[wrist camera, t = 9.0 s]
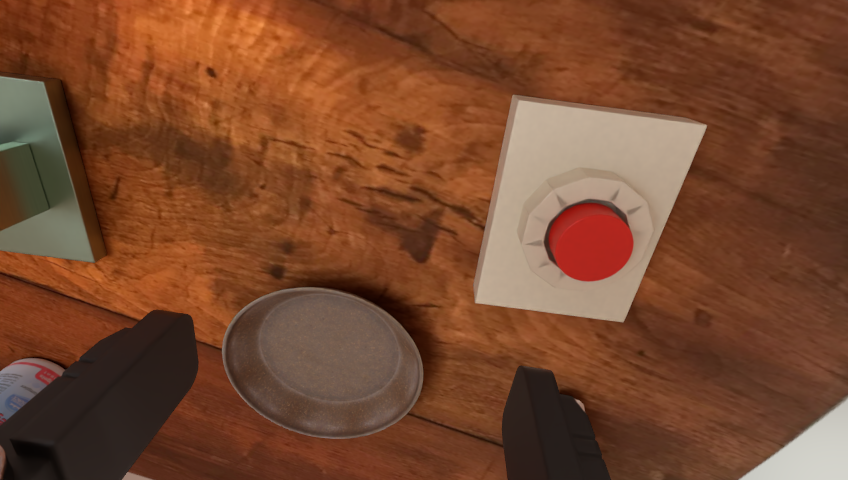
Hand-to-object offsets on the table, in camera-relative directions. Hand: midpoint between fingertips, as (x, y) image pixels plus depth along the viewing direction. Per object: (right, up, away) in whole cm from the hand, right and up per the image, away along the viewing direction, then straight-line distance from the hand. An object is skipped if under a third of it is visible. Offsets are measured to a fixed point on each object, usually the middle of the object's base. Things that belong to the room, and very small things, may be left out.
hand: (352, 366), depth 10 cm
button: (+11, +3, +13) cm, 17 cm away
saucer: (-6, -5, +23) cm, 24 cm away
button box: (+11, +5, +16) cm, 20 cm away
